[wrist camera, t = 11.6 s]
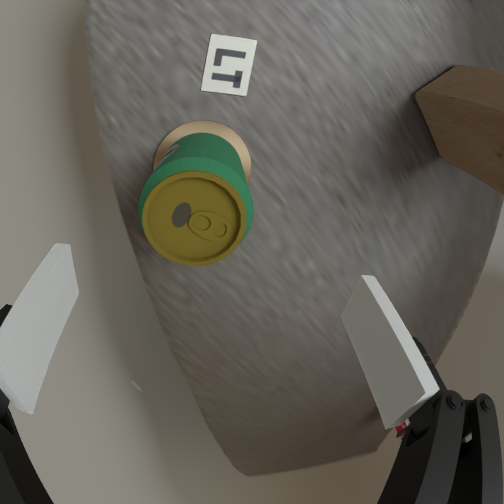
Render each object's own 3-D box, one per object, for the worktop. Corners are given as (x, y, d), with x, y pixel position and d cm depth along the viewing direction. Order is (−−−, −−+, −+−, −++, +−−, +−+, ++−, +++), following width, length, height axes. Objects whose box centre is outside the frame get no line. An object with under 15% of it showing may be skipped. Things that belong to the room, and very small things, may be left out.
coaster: (158, 116, 26) (157, 117, 25) (258, 127, 28) (259, 128, 27) (152, 207, 31) (151, 209, 30) (241, 216, 33) (242, 218, 32)
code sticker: (211, 34, 22) (211, 34, 22) (257, 40, 23) (257, 40, 22) (201, 90, 25) (200, 90, 25) (246, 96, 26) (246, 96, 26)
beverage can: (182, 118, 26) (158, 142, 16) (255, 151, 28) (278, 194, 18) (151, 188, 29) (120, 249, 19) (220, 216, 32) (223, 286, 22)
